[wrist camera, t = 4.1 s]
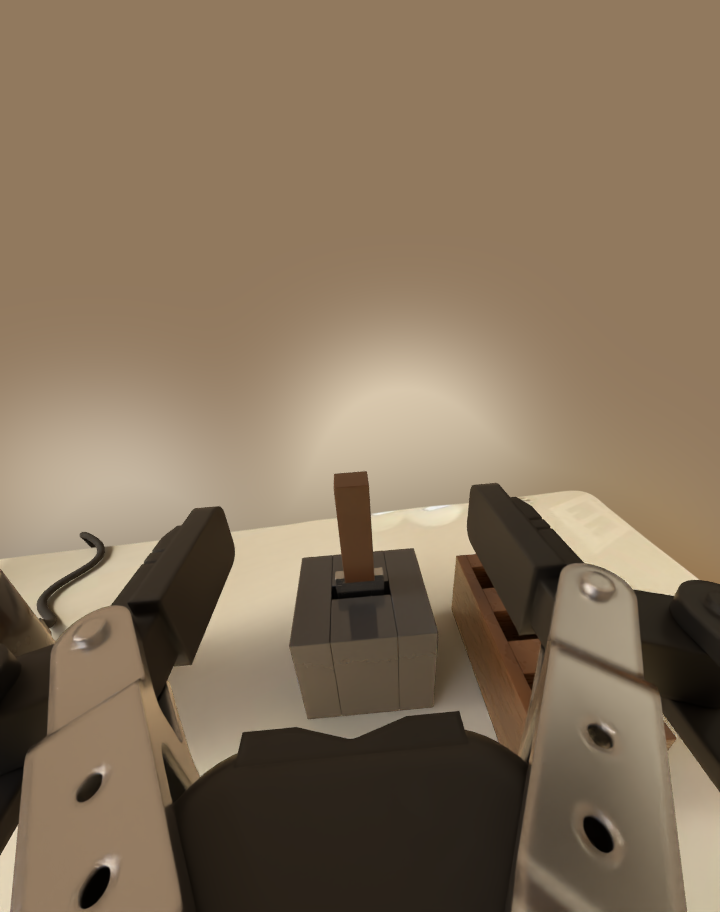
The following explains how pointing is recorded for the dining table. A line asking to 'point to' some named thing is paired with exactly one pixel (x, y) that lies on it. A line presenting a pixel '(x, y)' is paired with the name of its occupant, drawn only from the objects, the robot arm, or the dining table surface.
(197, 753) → the dining table surface
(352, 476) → the chef knife
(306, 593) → the knife block
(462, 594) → the knife rack
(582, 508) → the dining table surface
